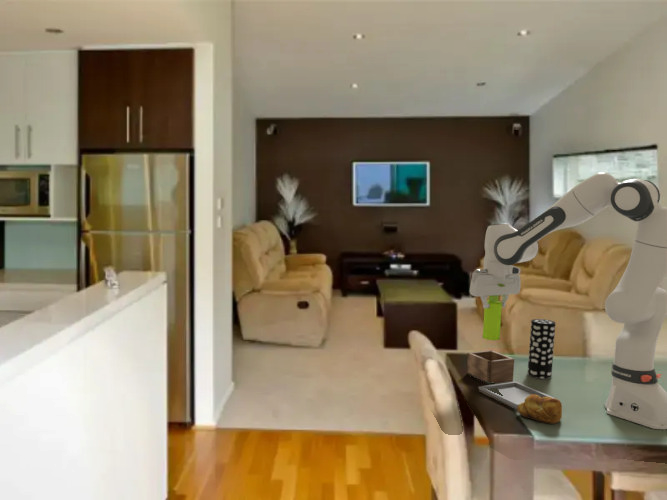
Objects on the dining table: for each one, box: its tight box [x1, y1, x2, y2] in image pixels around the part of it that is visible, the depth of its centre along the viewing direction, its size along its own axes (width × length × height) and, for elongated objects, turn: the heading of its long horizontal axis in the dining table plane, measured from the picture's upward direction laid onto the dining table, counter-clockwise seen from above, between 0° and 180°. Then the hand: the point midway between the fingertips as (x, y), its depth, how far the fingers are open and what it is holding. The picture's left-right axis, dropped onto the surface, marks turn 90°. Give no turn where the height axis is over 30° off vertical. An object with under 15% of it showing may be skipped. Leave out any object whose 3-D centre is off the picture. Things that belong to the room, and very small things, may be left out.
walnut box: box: [466, 349, 515, 384], centre depth 221 cm, size 12×11×8 cm
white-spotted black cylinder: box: [527, 318, 556, 380], centre depth 225 cm, size 8×8×20 cm
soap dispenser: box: [482, 284, 505, 341], centre depth 219 cm, size 6×7×20 cm
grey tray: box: [478, 381, 557, 411], centre depth 201 cm, size 18×16×2 cm
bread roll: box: [517, 394, 563, 425], centre depth 183 cm, size 13×10×8 cm
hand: (494, 307), depth 218 cm, fingers closed on soap dispenser, 6 cm apart
